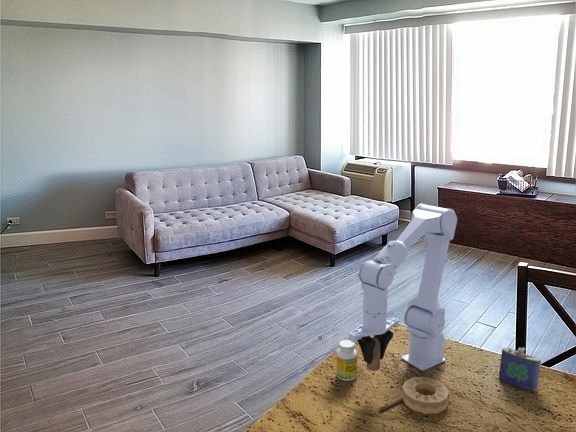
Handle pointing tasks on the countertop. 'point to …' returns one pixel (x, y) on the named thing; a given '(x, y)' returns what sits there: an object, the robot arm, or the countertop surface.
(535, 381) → the flask
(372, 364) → the brown rounded cylinder
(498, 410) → the countertop surface
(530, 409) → the countertop surface
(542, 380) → the countertop surface
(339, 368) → the supplement bottle
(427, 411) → the wooden ring with handle
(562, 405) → the countertop surface
